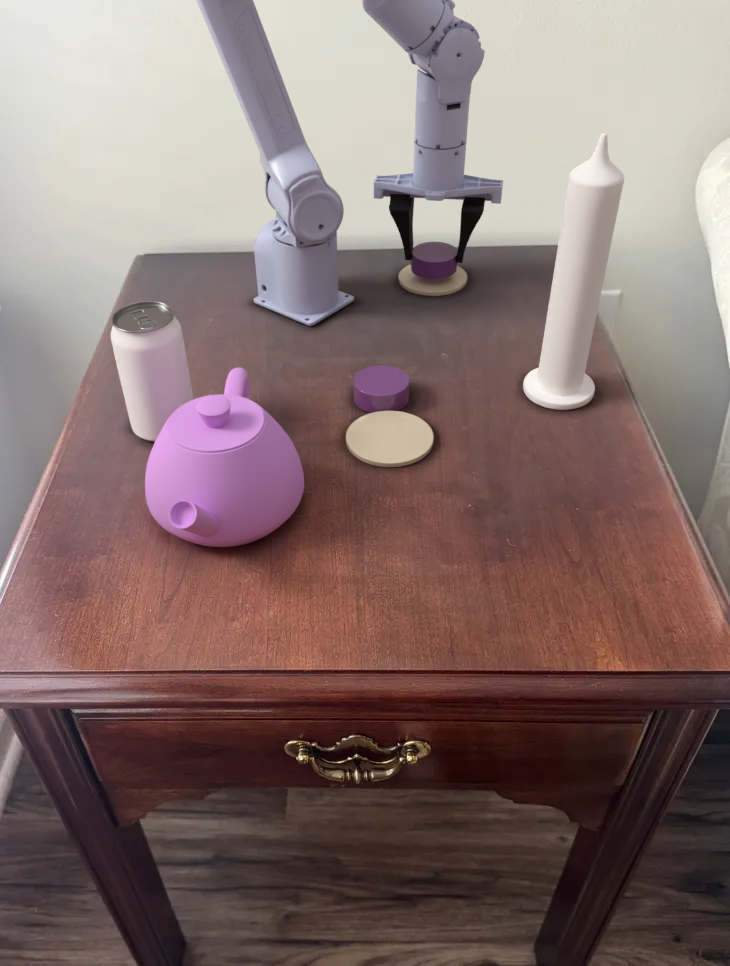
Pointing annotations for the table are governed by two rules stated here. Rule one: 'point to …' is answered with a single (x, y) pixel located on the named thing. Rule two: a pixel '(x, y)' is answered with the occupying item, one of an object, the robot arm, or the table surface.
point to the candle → (577, 283)
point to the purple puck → (381, 388)
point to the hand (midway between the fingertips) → (433, 257)
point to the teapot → (223, 470)
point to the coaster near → (389, 438)
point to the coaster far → (432, 283)
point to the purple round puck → (434, 260)
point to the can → (150, 364)
